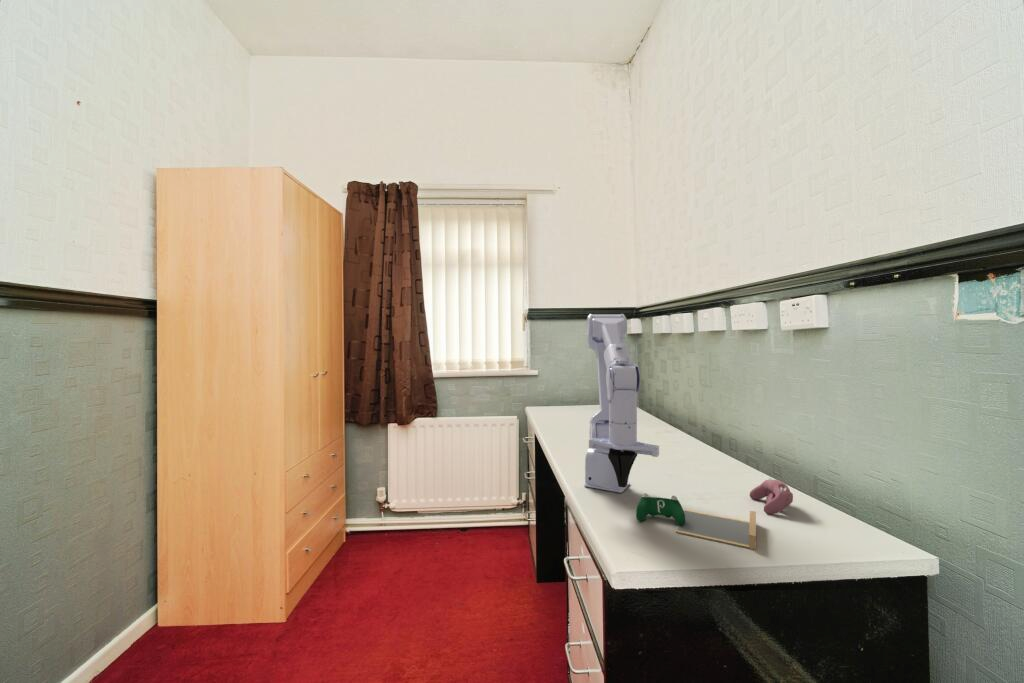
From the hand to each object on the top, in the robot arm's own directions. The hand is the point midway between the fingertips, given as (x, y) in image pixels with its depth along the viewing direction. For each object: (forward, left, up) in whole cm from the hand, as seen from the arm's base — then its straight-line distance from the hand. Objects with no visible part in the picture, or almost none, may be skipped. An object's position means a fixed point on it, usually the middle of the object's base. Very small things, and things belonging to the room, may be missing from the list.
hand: (622, 485), depth 89 cm
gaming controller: (+8, 0, -6) cm, 9 cm away
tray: (+17, +1, -5) cm, 18 cm away
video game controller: (+27, +19, -6) cm, 34 cm away
